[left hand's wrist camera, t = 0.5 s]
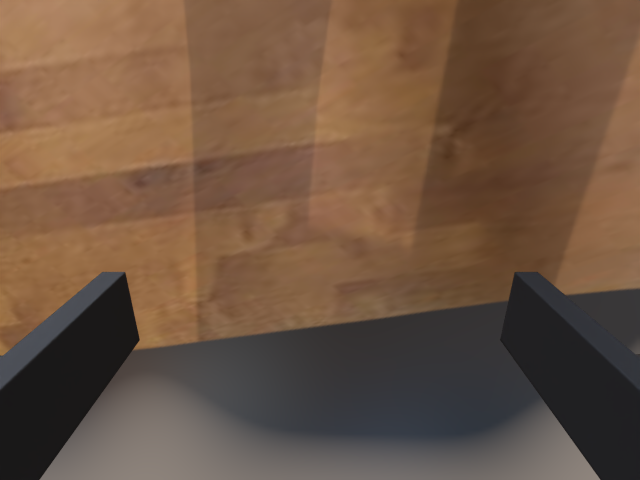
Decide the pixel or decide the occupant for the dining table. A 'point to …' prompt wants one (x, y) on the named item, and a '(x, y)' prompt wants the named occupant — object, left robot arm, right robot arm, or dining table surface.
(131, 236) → the dining table surface
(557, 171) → the dining table surface
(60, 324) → the left robot arm
